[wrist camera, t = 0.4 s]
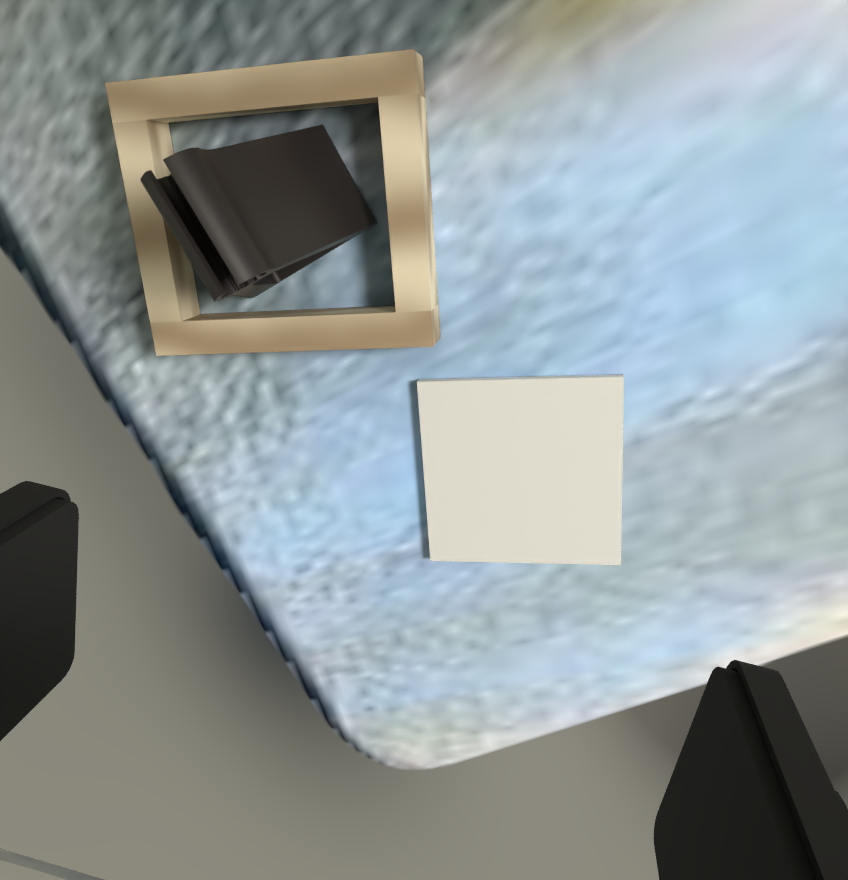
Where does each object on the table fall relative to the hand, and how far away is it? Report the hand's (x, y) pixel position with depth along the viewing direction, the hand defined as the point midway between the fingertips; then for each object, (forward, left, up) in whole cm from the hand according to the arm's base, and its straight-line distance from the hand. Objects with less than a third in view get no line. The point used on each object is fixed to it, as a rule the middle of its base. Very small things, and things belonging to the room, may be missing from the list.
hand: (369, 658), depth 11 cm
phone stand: (-5, -13, -35) cm, 38 cm away
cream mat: (+11, 0, -35) cm, 36 cm away
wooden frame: (-5, -13, -35) cm, 37 cm away
